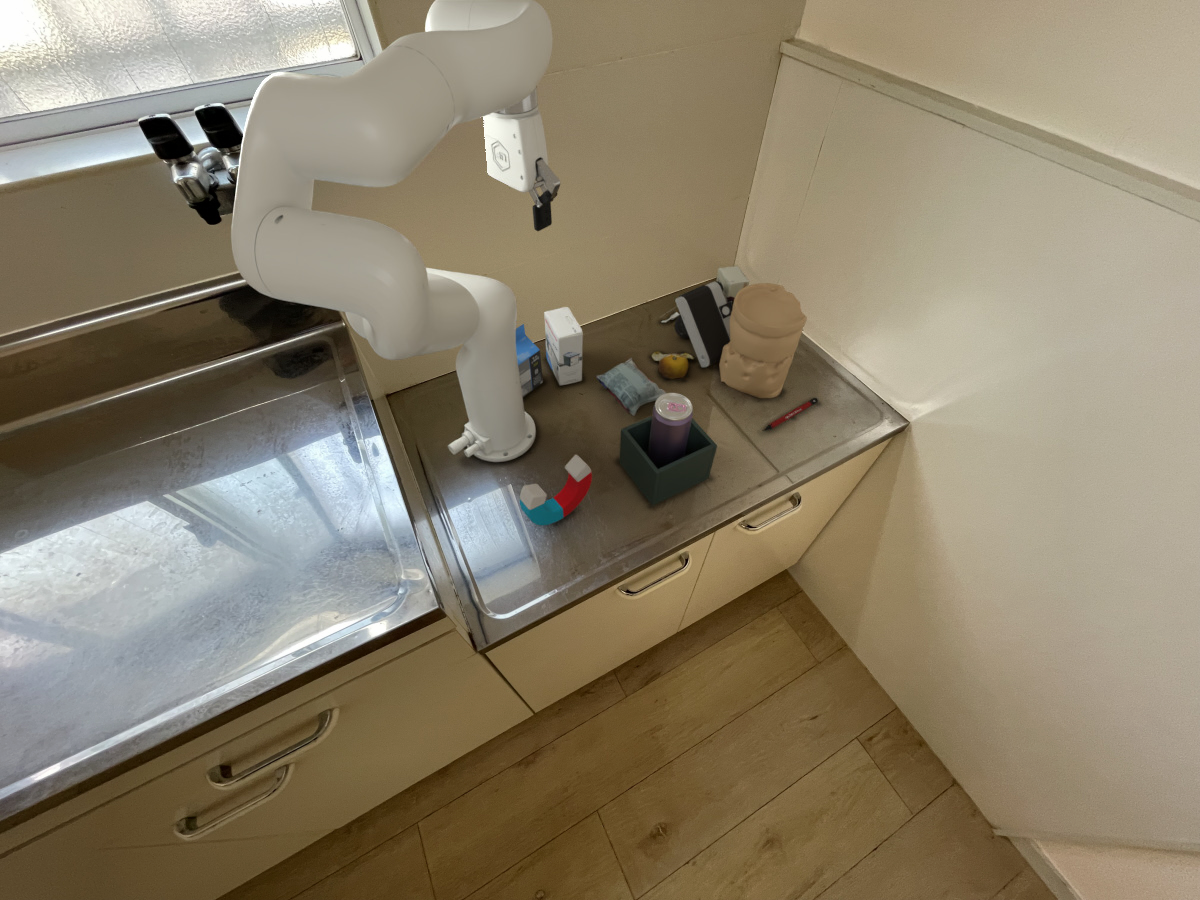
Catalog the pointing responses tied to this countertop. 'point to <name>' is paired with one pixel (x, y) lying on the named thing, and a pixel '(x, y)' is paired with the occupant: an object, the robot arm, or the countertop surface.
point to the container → (761, 339)
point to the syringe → (671, 316)
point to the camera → (705, 321)
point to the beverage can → (669, 429)
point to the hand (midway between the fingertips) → (522, 216)
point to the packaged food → (630, 386)
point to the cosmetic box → (732, 280)
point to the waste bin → (671, 476)
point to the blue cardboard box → (528, 362)
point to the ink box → (564, 345)
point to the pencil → (791, 414)
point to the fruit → (672, 364)
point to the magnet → (563, 501)
